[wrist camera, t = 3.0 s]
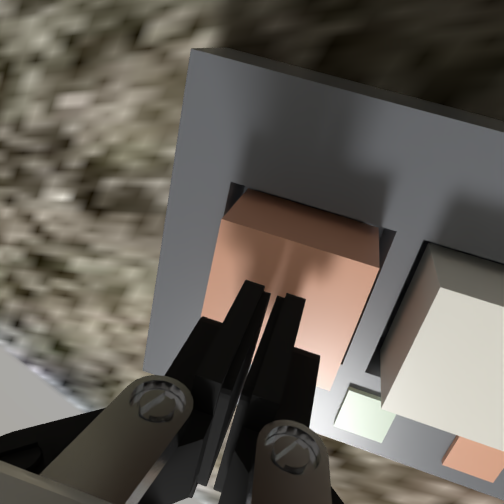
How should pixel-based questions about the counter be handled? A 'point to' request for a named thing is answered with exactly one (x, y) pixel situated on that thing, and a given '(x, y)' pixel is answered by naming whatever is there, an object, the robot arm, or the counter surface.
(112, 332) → the counter surface
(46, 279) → the counter surface
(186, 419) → the robot arm
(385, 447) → the keypad
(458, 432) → the cream key
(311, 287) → the terracotta key
